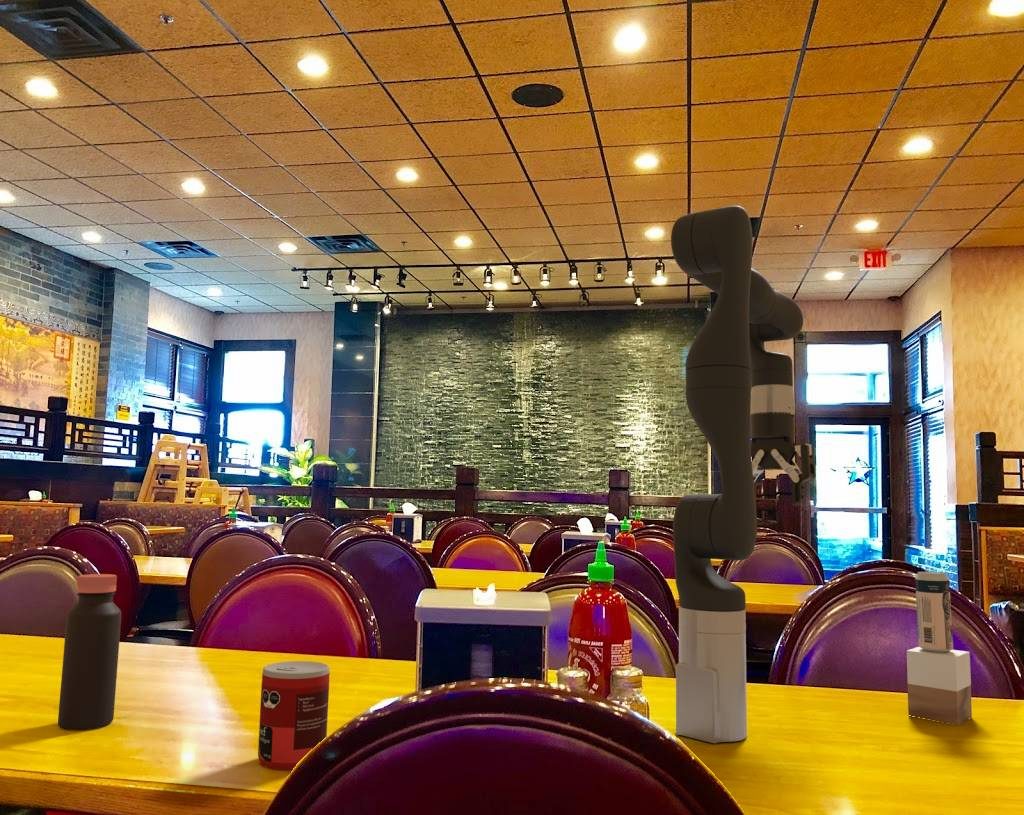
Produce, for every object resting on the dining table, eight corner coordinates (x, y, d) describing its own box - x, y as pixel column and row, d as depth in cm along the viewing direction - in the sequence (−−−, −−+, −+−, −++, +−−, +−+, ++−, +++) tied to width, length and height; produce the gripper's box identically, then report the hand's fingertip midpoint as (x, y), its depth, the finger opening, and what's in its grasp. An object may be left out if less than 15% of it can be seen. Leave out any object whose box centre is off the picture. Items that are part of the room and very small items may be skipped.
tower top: (957, 691, 122) (955, 657, 123) (907, 683, 127) (906, 650, 128) (970, 684, 127) (969, 651, 128) (922, 677, 132) (921, 645, 133)
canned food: (264, 751, 102) (269, 660, 103) (329, 751, 103) (333, 660, 104) (250, 771, 94) (255, 673, 96) (320, 771, 95) (325, 673, 96)
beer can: (958, 653, 125) (953, 574, 127) (925, 652, 126) (921, 573, 127) (946, 648, 130) (941, 571, 132) (914, 647, 131) (910, 571, 132)
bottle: (56, 733, 107) (69, 578, 110) (58, 720, 113) (70, 573, 116) (114, 728, 111) (125, 577, 113) (112, 716, 117) (123, 573, 119)
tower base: (958, 726, 122) (956, 691, 123) (908, 716, 127) (907, 683, 127) (971, 718, 127) (970, 684, 127) (923, 709, 132) (922, 677, 132)
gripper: (725, 413, 148) (726, 503, 146) (801, 407, 138) (802, 505, 136) (746, 416, 153) (747, 504, 151) (820, 412, 143) (822, 505, 141)
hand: (773, 504), depth 143 cm, fingers open, 8 cm apart
